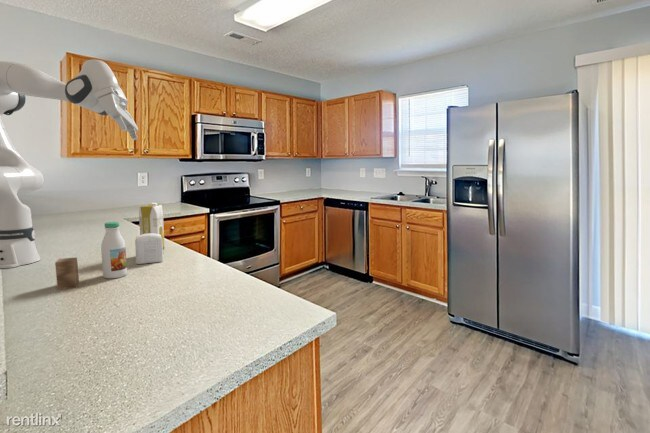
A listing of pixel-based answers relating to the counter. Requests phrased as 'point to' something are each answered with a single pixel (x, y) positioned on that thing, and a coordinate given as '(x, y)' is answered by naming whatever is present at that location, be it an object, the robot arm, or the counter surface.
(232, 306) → the counter surface
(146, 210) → the juice carton
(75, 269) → the walnut block
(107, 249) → the milk bottle
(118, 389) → the counter surface
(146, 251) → the photo printer
